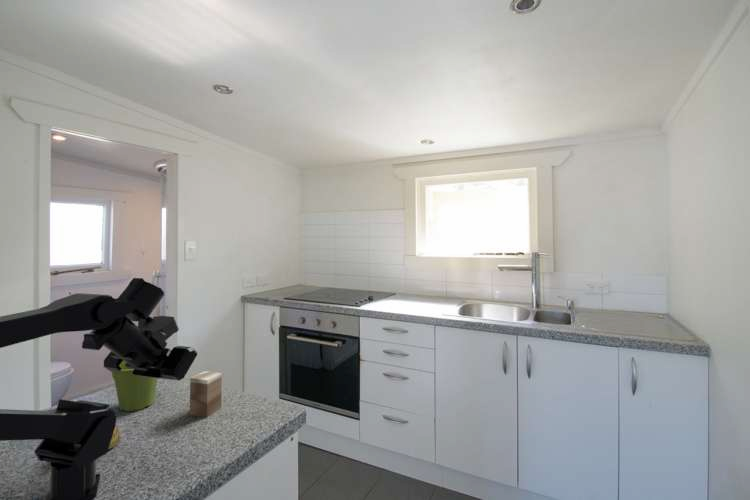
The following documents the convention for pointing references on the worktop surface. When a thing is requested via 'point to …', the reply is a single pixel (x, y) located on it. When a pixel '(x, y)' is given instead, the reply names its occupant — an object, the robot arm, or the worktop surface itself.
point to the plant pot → (133, 389)
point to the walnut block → (205, 393)
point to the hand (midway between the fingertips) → (173, 377)
